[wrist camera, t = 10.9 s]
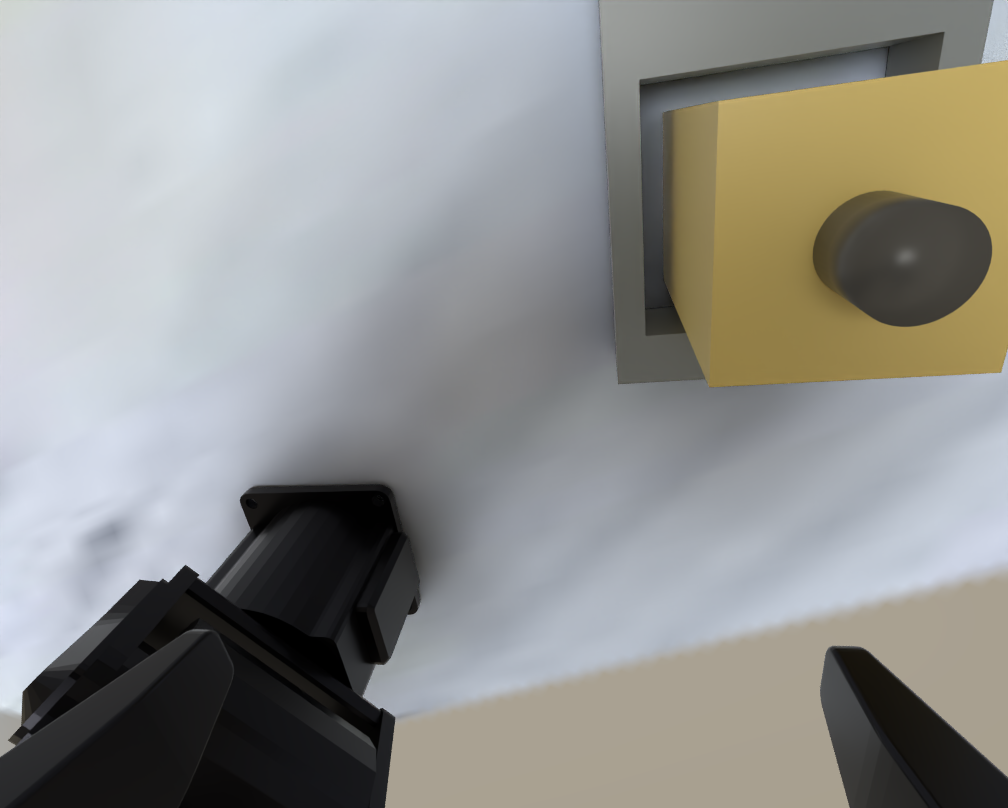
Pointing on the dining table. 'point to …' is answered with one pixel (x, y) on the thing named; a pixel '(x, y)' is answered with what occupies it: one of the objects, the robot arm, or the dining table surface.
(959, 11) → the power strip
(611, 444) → the dining table surface
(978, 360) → the plug
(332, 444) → the dining table surface
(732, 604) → the dining table surface
